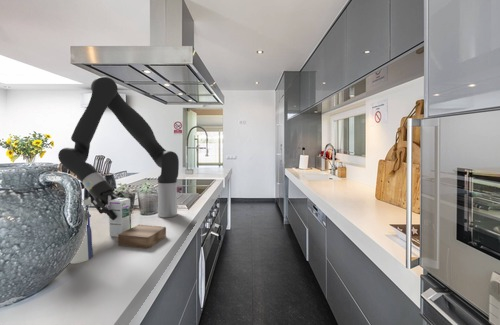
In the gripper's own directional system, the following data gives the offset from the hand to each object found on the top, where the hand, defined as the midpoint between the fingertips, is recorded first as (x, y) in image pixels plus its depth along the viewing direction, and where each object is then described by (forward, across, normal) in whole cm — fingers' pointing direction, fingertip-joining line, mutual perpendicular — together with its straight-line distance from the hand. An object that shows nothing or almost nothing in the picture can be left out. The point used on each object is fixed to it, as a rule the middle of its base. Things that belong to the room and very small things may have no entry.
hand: (122, 215), depth 103 cm
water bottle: (+6, -22, +5) cm, 23 cm away
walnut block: (+14, -4, -3) cm, 15 cm away
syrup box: (+5, 0, +6) cm, 8 cm away
